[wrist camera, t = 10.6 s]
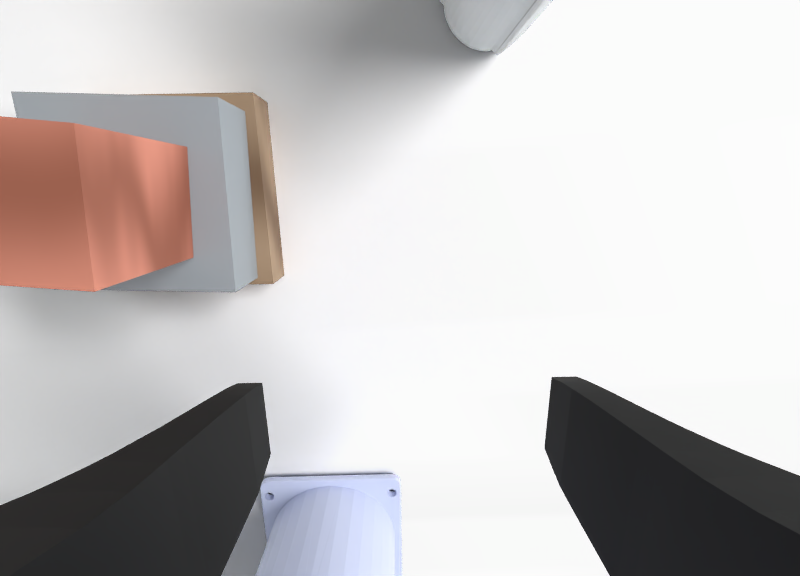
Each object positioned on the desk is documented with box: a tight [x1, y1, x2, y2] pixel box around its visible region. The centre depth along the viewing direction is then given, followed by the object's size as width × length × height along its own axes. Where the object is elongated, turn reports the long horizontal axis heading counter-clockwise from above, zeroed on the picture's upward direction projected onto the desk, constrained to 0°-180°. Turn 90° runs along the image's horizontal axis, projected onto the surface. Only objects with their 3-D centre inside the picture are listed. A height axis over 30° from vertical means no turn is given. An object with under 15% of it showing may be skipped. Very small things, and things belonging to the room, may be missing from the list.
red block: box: [0, 116, 194, 292], centre depth 11 cm, size 4×4×5 cm
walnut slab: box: [138, 93, 284, 284], centre depth 18 cm, size 8×8×2 cm
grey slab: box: [11, 92, 258, 292], centre depth 15 cm, size 7×7×2 cm
